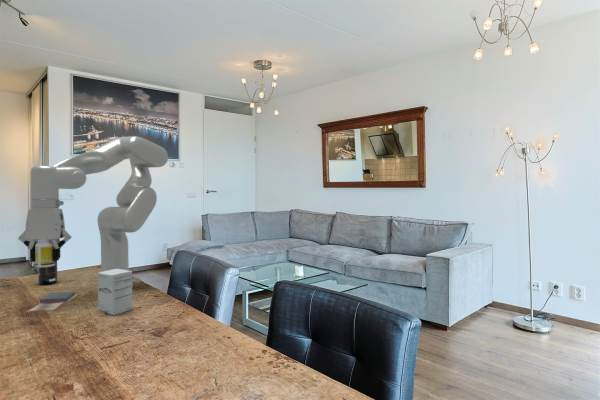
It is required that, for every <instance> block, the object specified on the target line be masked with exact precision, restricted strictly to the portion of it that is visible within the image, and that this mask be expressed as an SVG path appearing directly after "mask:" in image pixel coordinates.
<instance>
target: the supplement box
mask: <svg viewBox="0 0 600 400" xmlns="http://www.w3.org/2000/svg"><path fill="white" fill-rule="evenodd" d="M132 278H133V271H132V270H129V271H128V270H122V269H112V270H108V271H103V272H101V271H99V272H97V287H98V289H97V299H98V300H97V303H98V304H97V307H98V308H97V309H98V311H102V312H104V314H108V315H111V316H115V315H118V314H122V313H124V312H127V311H130V310H132V309H133V287H132Z"/></svg>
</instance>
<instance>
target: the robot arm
mask: <svg viewBox="0 0 600 400" xmlns="http://www.w3.org/2000/svg"><path fill="white" fill-rule="evenodd" d="M128 159H129V162H130V164H129V165H130V166H131V167H130V169H131V175H130V176H129V178H128V180H126V182H125V184H124V185H123V186H122V188H121V189H120V190H119V192H118V193H117V195H116V199H115V200H116V201H115V202H116V204H117V206H108V207H105V208H103V209H101V210H100V211H99V213H98V215H97V220H96V221H97V226H98V231H99V235H100V237H99V238H100V267H101V268H100V272H103V271H108V270H112V269H122V270H128V271H130V269H129V268H130V267H129V266H130V264H129V240H128V236H127V234H126V233H132V234H133V233H136V232H138V231H139V230H141V229H142V227H143V225H144V224H145V223H146V221H147V220H148V218H149V216H151V213H152V212H153V211H154V209H155V206H156V205H157V198H158V197H157V192H156V191H155V189H154V188H152V187H151V185H152V180H153V179H152V175H151V172H150V168H161V167H164V166H165V165H166V164H167V163H168V162H169V154H168V152H167V150H166V149H165V148H164V147H162V146H160V145H158V144H156V143H154V142H152V141H150V140H149V139H147V138H145V137H144V138H143V137H141V136H138V135H130V136H129V135H128V136H121V137H120V136H119V137H116V138H114V139H112V140H110V141H108V142H106V143H104V144H102V145H100V146H98V147H96V148H94V149H92V150H89V151H86V152H83V153H80V154H78V155H76V156H72V157H69V158H67V159H64V160H62V161H60V162H58V163H56V164H54V165H51V166H50V165H34V166H32V167H31V168H30V208H29V209H28V210H27V215H26V219H25V230H24V231H23V232H22V233H21V234H20V235H19V236H18V237H17V239H18V240H19V241H20V242H21V243H23V245H24V246H26V247H27V249H28V250H29V259H30V262H31V263H34V262H35V245H36V243H38V242H39V241H38V240H42V239H44V240H52V243H53V245H54V249H53V261H57V262H58V261H60V258H61V248H63V246H64V245H65V244H66V243H67V242H68V241H70V240H71V239H72V235H70V233H69V232H68V231H67V230H66V225H65V217H64V212H63V209H62V208H60V207H61V206H64V204H65V203H64V201H63V200H60V198H59V197H60V194H59V193H60V190H77V189H80V188H82V187H83V186H84V185H85V183H86V182H87V175H88V176H89V175H92V174H98V173H102V172H105V171H108V170H109V169H111V168H113V167H114V166H117V165H118V164H119V163H122V162H124V161H125V160H128ZM60 239H61V240H60ZM134 284H141V278H140V277H132V288H134ZM96 289H97V290H98V286H97V287H96Z"/></svg>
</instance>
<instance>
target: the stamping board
mask: <svg viewBox="0 0 600 400" xmlns="http://www.w3.org/2000/svg"><path fill="white" fill-rule="evenodd" d="M76 296H77V294H75V295H74V296H73V297H72V298H71V299H69V300H68V301H67V302H48V303H40V301H39V302H38V303H36V304H34V305H33V306H30V308H28V309H26V310H25V311H24V312H23V313H24V314H25V313H41V312H55V311H58V310H60V308H62V307H63V306H64V305H66V304H67V303H68V302H69V301H71V300H72V299H74V298H75V297H76Z"/></svg>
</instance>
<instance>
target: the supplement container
mask: <svg viewBox="0 0 600 400" xmlns="http://www.w3.org/2000/svg"><path fill="white" fill-rule="evenodd" d="M58 276H59V275H58V261H55V265H54V266H51V267H37V284H38V285H40V286H49V285H50V286H51V285H55V284H56V283H58Z"/></svg>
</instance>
